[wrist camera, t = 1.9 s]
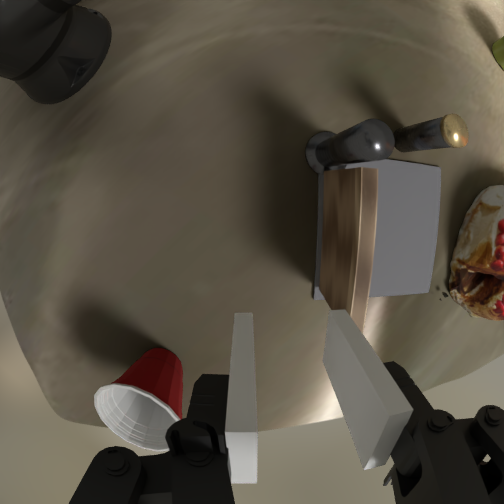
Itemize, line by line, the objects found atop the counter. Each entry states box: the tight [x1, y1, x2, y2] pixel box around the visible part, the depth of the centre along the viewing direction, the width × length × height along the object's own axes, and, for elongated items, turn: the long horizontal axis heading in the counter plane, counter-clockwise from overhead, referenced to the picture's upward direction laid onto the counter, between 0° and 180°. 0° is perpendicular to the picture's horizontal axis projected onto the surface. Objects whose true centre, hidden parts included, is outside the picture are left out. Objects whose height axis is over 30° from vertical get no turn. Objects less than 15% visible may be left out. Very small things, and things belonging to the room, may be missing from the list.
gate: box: [319, 167, 378, 334], centre depth 26 cm, size 14×1×11 cm, turn 0°
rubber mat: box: [313, 159, 441, 300], centre depth 32 cm, size 17×17×1 cm
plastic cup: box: [94, 348, 183, 451], centre depth 30 cm, size 11×11×12 cm
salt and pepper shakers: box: [305, 114, 468, 175], centre depth 23 cm, size 7×14×13 cm, turn 90°
